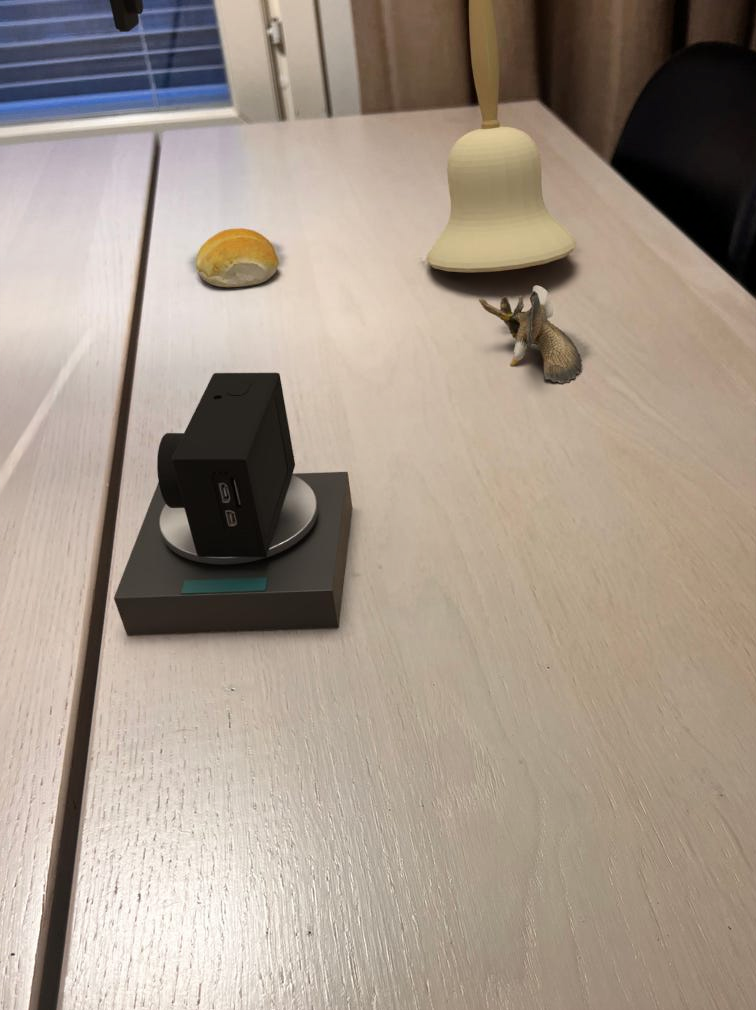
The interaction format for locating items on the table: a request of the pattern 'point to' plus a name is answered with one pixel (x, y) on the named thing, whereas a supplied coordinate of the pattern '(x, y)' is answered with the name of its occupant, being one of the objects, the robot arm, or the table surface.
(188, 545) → the scale pan
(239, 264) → the bread roll
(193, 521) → the digital camera
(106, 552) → the table surface
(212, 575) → the scale
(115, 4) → the robot arm
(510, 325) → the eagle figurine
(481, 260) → the handbell
